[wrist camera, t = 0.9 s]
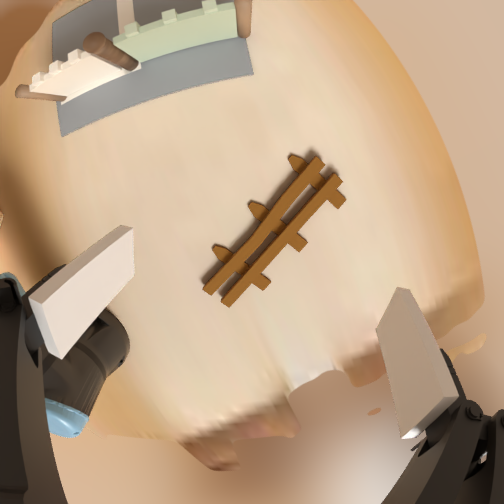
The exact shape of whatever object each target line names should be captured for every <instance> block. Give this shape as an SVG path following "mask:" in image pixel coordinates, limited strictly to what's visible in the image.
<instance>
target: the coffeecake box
mask: <svg viewBox="0 0 504 504" xmlns="http://www.w3.org/2000/svg"><path fill="white" fill-rule="evenodd" d="M3 216H4V215H3V213H2V212H1V211H0V227H1V224H2V220H3Z"/></svg>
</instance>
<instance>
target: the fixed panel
mask: <svg viewBox="0 0 504 504" xmlns="http://www.w3.org/2000/svg"><path fill="white" fill-rule="evenodd" d="M121 70H122V68H121V67H120V66H118V65H116V64H114V63H112V62H110V61H108V60H106V59H104V58H102V57H100V56H98V55H96V54H94V53H87V52H86V51H82V50H80V49H76V50H74V51H72V52H70V53H68V61H66V62H62V61H59V60H57V61H55V62H53V63H52V64H50V65H49V72H48V73H45V72H38V73H37V74H35V75H34V76H32V84H30V85H22V84H21V85H19V86H18V87H17V89H16V91H15V96H16V98H27V99H40V100H51V101H60V102H63V101H65V100H66V98H67V96H68V95H70V94H72V93H74V92H76V91H78V90H80V89H82V88H84V87H86V86H88V85H90V84H92V83H94V82H96V81H98V80H100V79H102V78H105V77H107V76H109V75H111V74H114V73H116V72H119V71H121Z"/></svg>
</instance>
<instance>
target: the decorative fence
mask: <svg viewBox="0 0 504 504" xmlns="http://www.w3.org/2000/svg"><path fill="white" fill-rule="evenodd" d="M288 160H289V162H290V164H291V166H292V168H293V169H294V170H295V171H296V172H297V173H298V174H299V175H298V177H297V178H296V179H295V180H294V181H293V182H292V184H291V185H290V186H289V187H288V188H287V189H286V191H285V192H284V193H283V194H282V195H281V197H280V198H279V199H278V201H277V202H276V203H275V205H274V206H273V207H272V209H271V210H270V211H269V210H268V209H267V208H265V207H264V206H263V205H260V204H257V203H254V202H251V203H250V204H249V206H248V207H249V209H250V211H251V212H252V214H253V216H254V217H255V218H257V219H258V220H259V221H260V222H261V223H260V225H259V226H258V228H257V229H256V230H255V232H254V233H253V234H252V236H251V237H250V238H249V239H248V240H247V241H246V242H245V243H244V244H243V245H242V246H241V247H240V248H239V249H238V251H237V252H236V253H235V254H233V253H232V252H231V251H229V250H228V249H226V248H224V247H220V246H217V245H216V246H215V247H214V248H213V250H212V251H213V252H214V253H215V255H216V256H217V258H218V259H219V260H220V261H222V262H223V263H225V264H224V265H223V266H222V267H221V268H220V270H219V271H218V272H217V273H216V274H215V275H214V276H213V277H212V278H211V279H210V280H209V281H208V282H207V283H206V284H205V285H204V287H203V290H204V291H205V292H207V293H208V294H210V295H212V294H213V293H214V292H215V291H216V290H217V289H218V288H219V287H220V286H221V285H222V284H223V283H224V282H225V281H226V280H227V279H228V278H229V277H230V276H231V275H232V274H233V273H234V272H235V271H236V272H237V273H239V274H240V275H241V277H240V278H239V279H238V281H237V282H236V283H235V284H234V285H233V286H232V287H231V288H230V290H229V291H228V292H227V293H226V294H225V295H224V296H223V297H222V299H221V303H223V304H224V305H226V306H227V307H230V306H231V305H232V304H233V303H234V302H235V301H236V300H237V299H238V298H239V297H240V295H241V294H242V293H243V292H244V291H245V290H246V289H247V288H248V287H249V286H250V284H251V283H253V284H254V285H255V286H257V287H258V288H260V289H261V290H264V289H265V288H266V287H267V286H268V285H269V284H270V283H271V281H270V280H269V279H267V278H266V277H265V276H263V275H262V274H261V272H262V271H263V270H264V269H265V268H266V267H267V266H268V265H269V264H270V262H271V261H272V260H273V259H274V258H275V257H276V256H277V255H278V254H279V252H280V251H281V250H282V249H283V248H284V247H285V246H286V244H287V243H288V244H289V245H291V246H292V247H293V248H294V249H296V250H297V251H298V252H300V251H301V250H302V249H303V248H304V247H305V245H306V244H307V243H308V242H307V241H306V240H304V239H303V238H302V237H301V236H300V235H298V234H297V232H298V231H299V230H300V228H301V227H302V226H303V225H304V224H305V223H306V222H307V220H308V219H309V218H310V217H311V216H312V215H313V214H314V213H315V212H316V211H317V210H318V209H319V207H320V206H321V205H322V204H323V203H324V202H325V201H326V200H328V201H329V202H331V203H332V204H333V205H334V206H335V207H336V208H337V209H339V208H340V207H341V205H342V204H343V203H344V202H345V201H346V199H345V198H344V197H343V196H342V195H341V194H340V193H339V192H338V191H337V190H336V189H337V188H338V187H339V186H340V185H341V183H342V182H343V181H342V180H341V179H340V178H339V177H338V176H337V175H336V174H335V173H332V175H331V176H330V177H329V178H328V179H327V180H325V179H324V178H323V177H322V176H321V175H320V174H319V172H320V171H321V169H322V168H323V167H324V166H325V164H324V163H323V162H322V161H321V160H320V159H319V158H318V157H316V156H315V157H314V158H313V159H312V160H311V162H310V163H309V164H308V163H307V162H306V161H304V160H303V159H301V158H299V157H296V156H293V155H291V156H290V158H289V159H288ZM309 183H310V184H311V185H312V186H313V187H314V188H315V189H316V190H317V192H316V193H315V194H314V195H313V196H312V197H311V198H310V199H309V201H308V202H307V203H306V204H305V205H304V206H303V207H302V208H301V210H300V211H299V212H298V213H297V214H296V215H295V216H294V217H293V219H292V220H291V221H290V222H289V223H288V224H287V225H286V224H285V223H284V222H283V221H281V220H280V219H281V217H282V216H283V215H284V213H285V212H286V211H287V209H288V208H289V207H290V205H291V204H292V203H293V202H294V201H295V199H296V198H297V197H298V196H299V195H300V194H301V193H302V191H303V190H304V189H305V188H306V187H307V186H308V184H309ZM271 231H273V232H274V233H276V234H277V237H276V238H275V239H274V240H273V241H272V242H271V243H270V244H269V245H268V247H267V248H266V249H265V250H264V251H263V252H262V253H261V255H260V256H259V257H258V258H257V259H256V260H255V261H254V262H253V264H252V265H251V266H250V265H248V264H247V263H245V262H244V261H245V260H246V259H247V258H248V257H249V256H250V255H251V254H252V253H253V252H254V251H255V250H256V249H257V248H258V247H259V246H260V245H261V244H262V242H263V241H264V240H265V238H266V237H267V236H268V234H269V233H270V232H271Z"/></svg>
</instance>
